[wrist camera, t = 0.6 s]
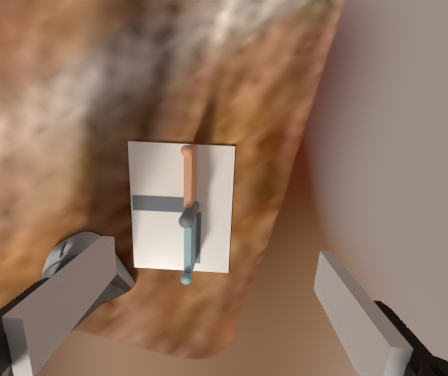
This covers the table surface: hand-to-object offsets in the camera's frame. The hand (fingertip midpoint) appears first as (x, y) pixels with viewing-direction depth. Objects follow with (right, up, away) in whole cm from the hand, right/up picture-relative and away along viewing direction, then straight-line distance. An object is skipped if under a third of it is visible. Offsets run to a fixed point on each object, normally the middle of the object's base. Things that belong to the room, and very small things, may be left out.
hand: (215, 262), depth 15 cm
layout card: (-6, +1, +22) cm, 23 cm away
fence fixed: (-4, -2, +23) cm, 23 cm away
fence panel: (-4, +7, +20) cm, 22 cm away
